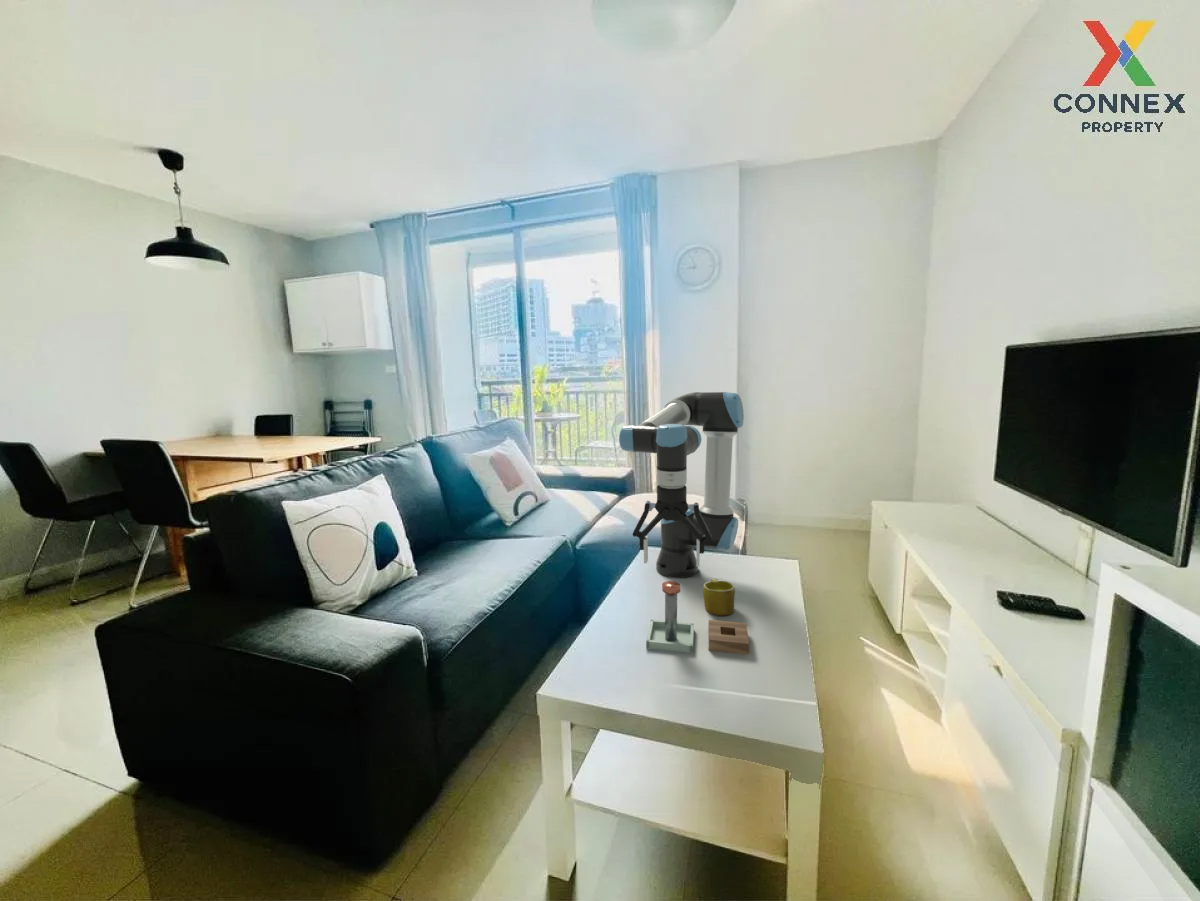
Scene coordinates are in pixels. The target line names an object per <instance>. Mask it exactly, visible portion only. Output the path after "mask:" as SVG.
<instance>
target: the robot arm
mask: <svg viewBox="0 0 1200 901" xmlns="http://www.w3.org/2000/svg"><path fill="white" fill-rule="evenodd" d="M743 405H744V404H743V401H742V399H741V396H740V395H739V394H738V393H736V392H728V391H727V392H726V391H723V392H720V391H718V392H716V391H714V392H712V391H711V392H707V391H706V392H705V391H704V392H700V391H699V392H698V391H697V392H690V393H686V394H682V395H680V396H677V397H675V398H674V399H672V400H670V401H668V402H667V403H666V404H665V405H664V407H663V409H662V410H660V411H658V412H657V413H655V414H653V415H652V416H650V417H648V418H647V419H645V420H644V421H642V422H641V423H640V424H638V425H634V424H631V425H629V424H628V425H624V426H623V427H621V429H620V431H619V436H618V440H619V442H618V443H619V447H620V448H621V450H622V451H624V452H631V453H642V454H643V453H645V454H656V484H657V486H656V502H651V501H649V500H647V501H645V504H644V509H643V513H642V514H641V516H640V518H639V519H638V522H637V523H636V526H635V528H634V530H633V531H632V537H636V538H638V539H639V550H640V551H643V564H648V561H649V537H648V534H649V533H650V532H651V531H652V530H653V529H654V528H655V527H656V526H657V524H658V523H659V522H660V550H659V553H658V557H657V559H656V563H655V564H656V565H655V566H656V571H657V572H658V573H659V574H661V575H662V576H666V577H668V578H677V579H679V578H680V579H682V578H690V577H692V576H695V575H697V573H698V572H699V567H700V559H701V558H700V554H701V555H702V554H704V553H705V548H706V549H712V550H716V551H718V550H720V551H730V550H731V549H732V548H733V546H734V544H735V541H736V538H737V534H738V529H739V519H738V518H737V517H736V516H734V510H733V509H732V508H731V507H730V499H731V498H730V497H731V481H732V479H731V476H732V460H733V459H732V458H733V441H734V440H733V438H734V436H735V435H737V434H738V431H739V429H740V428H742V427H743V425H744V420H745V419H744V418H745V416H744V415H745V414H744V406H743ZM694 426H697V427H700V426H701V427H702V433H703V434H704V435H705V436H706V447H705V448H706V450H705V472H704V473H705V474H704V493H703V494H704V495H703V505H702V506H701V507H700V505H699V502H694V503H693V504H691V503H688V502H687V492H688V491H687V488H688V487H687V486H686V485H687V480H688V479H687V474H688V472H687V471H688V470H687V466H688V465H687V462H688V461H687V460H688V456H689V455H691V454H694V453H695V452H696V451H697V449H698V448H700V446H701V444H702V435H701V432H700V430H698V428H696V427H694ZM653 509H655V510H656V512H657V513H656V515H655V517H653V519H652V520H651V521H650V522H649V523H648V524H647V525H646V526H645V527H644V529H642V527H643V524H644V523H645V521H646V519H647V517H648V515H649V512H652V511H653ZM641 529H642V531H640V530H641ZM694 547H696V554H695V550H694Z"/></svg>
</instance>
